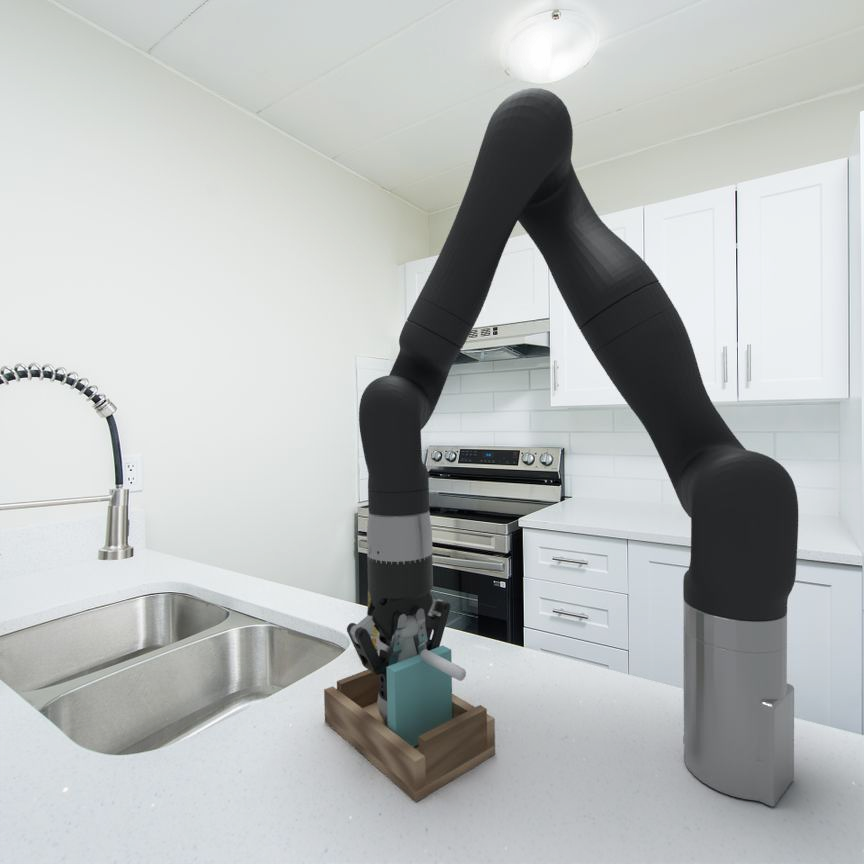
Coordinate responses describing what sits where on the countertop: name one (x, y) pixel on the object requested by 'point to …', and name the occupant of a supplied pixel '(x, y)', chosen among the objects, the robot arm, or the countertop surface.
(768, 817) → the countertop surface
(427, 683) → the pusher paddle
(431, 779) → the wooden tray
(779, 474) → the robot arm
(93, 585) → the countertop surface
